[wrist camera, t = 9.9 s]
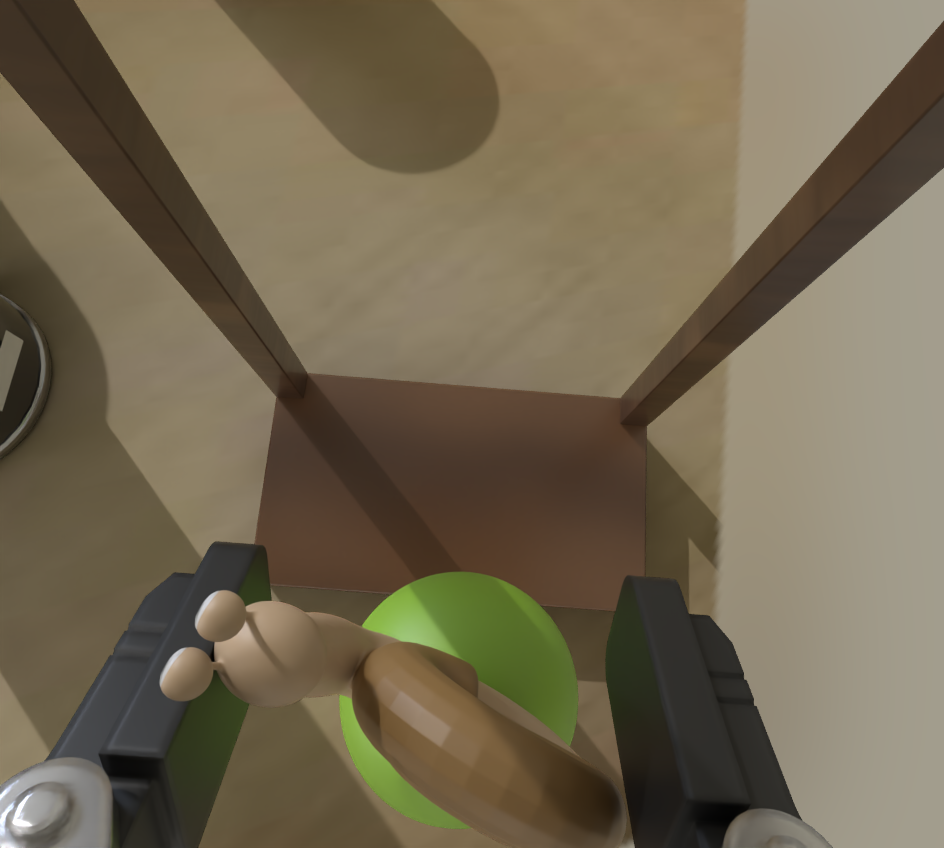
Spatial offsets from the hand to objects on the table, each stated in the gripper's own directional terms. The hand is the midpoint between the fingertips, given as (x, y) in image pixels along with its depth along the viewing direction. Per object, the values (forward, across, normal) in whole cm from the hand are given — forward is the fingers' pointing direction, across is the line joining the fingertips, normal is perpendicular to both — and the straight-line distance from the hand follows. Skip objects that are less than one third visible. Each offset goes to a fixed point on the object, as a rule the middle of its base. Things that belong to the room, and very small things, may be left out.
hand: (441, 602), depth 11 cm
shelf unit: (+17, 0, +11) cm, 21 cm away
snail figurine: (+5, 0, +7) cm, 9 cm away
